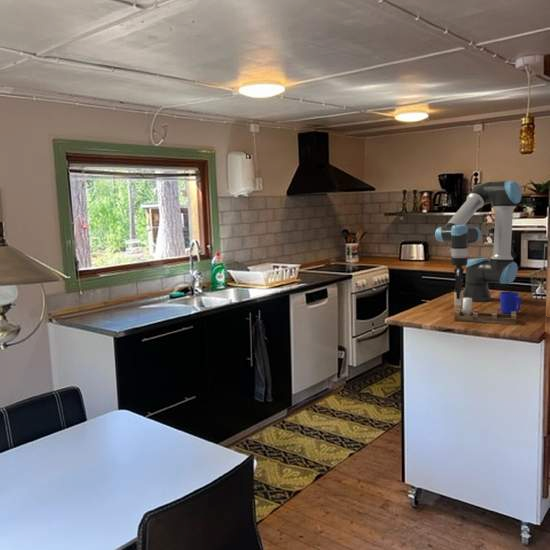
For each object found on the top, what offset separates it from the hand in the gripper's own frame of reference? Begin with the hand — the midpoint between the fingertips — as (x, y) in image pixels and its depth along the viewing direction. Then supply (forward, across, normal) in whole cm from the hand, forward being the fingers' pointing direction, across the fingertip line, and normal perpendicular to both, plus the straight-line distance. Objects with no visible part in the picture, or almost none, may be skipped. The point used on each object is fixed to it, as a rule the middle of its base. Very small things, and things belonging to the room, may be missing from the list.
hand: (458, 304), depth 266 cm
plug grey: (+4, +12, +5) cm, 14 cm away
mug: (+5, -6, +24) cm, 25 cm away
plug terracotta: (+2, 0, 0) cm, 2 cm away
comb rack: (+5, +12, +13) cm, 18 cm away
